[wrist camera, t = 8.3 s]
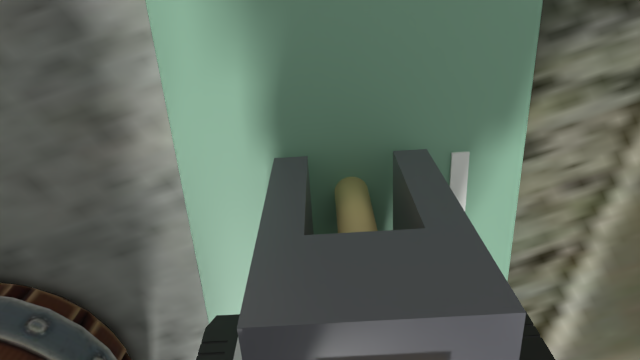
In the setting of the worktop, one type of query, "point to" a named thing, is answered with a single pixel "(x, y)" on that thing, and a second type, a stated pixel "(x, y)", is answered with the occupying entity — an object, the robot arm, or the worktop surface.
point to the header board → (341, 113)
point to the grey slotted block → (376, 278)
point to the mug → (51, 328)
